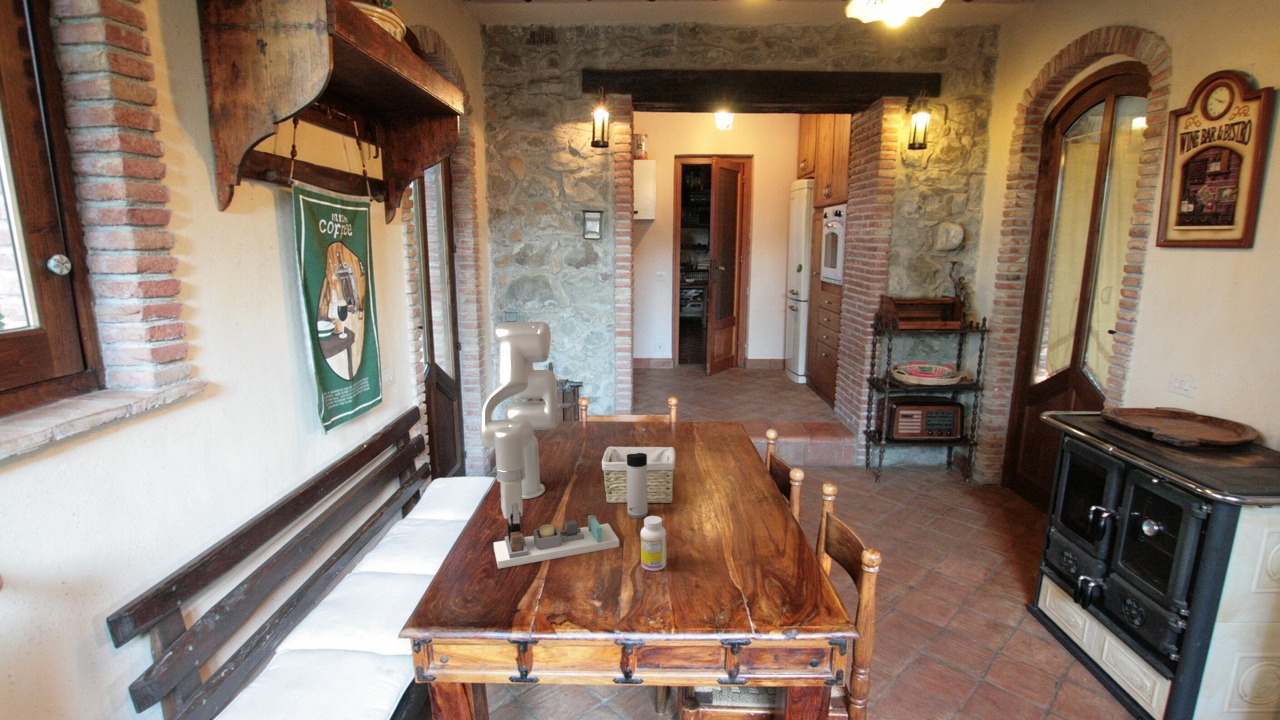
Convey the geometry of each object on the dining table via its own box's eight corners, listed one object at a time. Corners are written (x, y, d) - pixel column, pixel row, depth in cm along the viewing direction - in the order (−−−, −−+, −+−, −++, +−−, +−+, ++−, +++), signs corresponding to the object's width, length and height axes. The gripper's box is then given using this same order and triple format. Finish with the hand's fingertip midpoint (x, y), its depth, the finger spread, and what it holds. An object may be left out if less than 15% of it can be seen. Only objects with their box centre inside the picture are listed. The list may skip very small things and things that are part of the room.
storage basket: (601, 504, 193) (600, 461, 190) (607, 485, 209) (606, 445, 206) (675, 506, 191) (675, 462, 189) (675, 486, 207) (675, 445, 204)
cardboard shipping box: (511, 546, 162) (510, 532, 161) (520, 544, 162) (519, 531, 162) (512, 551, 159) (512, 537, 158) (521, 549, 160) (521, 536, 159)
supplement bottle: (651, 556, 160) (651, 511, 158) (671, 564, 156) (671, 518, 154) (635, 566, 155) (635, 520, 153) (655, 575, 151) (655, 527, 148)
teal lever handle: (587, 528, 171) (587, 515, 171) (595, 527, 172) (595, 514, 171) (595, 542, 163) (594, 528, 162) (603, 540, 164) (603, 527, 163)
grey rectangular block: (565, 534, 168) (564, 521, 167) (575, 533, 169) (575, 520, 168) (567, 538, 165) (566, 525, 165) (577, 536, 166) (577, 523, 166)
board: (493, 549, 165) (492, 527, 164) (608, 529, 176) (607, 509, 174) (498, 568, 155) (496, 545, 153) (619, 546, 165) (618, 525, 164)
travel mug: (630, 520, 181) (629, 458, 178) (625, 511, 188) (624, 450, 184) (650, 517, 183) (649, 455, 179) (644, 508, 189) (643, 448, 186)
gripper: (494, 465, 166) (497, 526, 169) (499, 485, 152) (503, 551, 155) (521, 462, 168) (524, 522, 172) (529, 481, 154) (532, 546, 158)
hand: (514, 536), depth 163 cm, fingers closed
